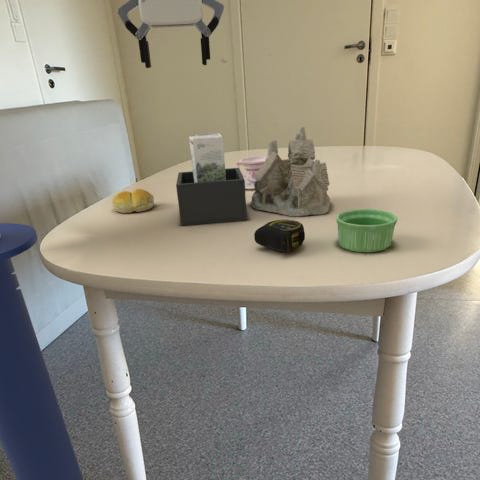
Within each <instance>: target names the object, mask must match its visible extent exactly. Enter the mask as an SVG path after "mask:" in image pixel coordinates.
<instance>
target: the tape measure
mask: <svg viewBox="0 0 480 480" xmlns="http://www.w3.org/2000/svg"><path fill="white" fill-rule="evenodd" d="M253 237H254V242H255V243H256V244H257V245H259V246H262V247H264V248H268V249H272V250H273V251H275V252H276V251H278V252H282V253H288V252H290V251H291V250H294V249H298V248H300V247H301V246H302V245H303V243H304V242H305V239H306V234H305V227H304V224H303V223H302V222H300V221H297V220H293V219H276V220H271V221H268V222H266V223H265V224H264V225H262V226H260V227H259V228H257V229H256V230H255V231H254V233H253Z"/></svg>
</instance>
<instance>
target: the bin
mask: <svg viewBox="0 0 480 480" xmlns="http://www.w3.org/2000/svg"><path fill="white" fill-rule="evenodd" d="M239 168H240V167H239ZM239 168H237V167H231V168H225V175H226V180H223V181H210V182H198V183H194V178H193V170H191V171H180V172H179V171H178V174H177V178H176V184H175V187H176V195H177V203H178V211H179V218H180V226H193V225H205V224H216V223H217V224H218V223H228V222H239V221H247V220H248V217H247V216H248V215H247V199H246V197H247V196H246V189H245V180H244V179H245V177H243V176H242V174H241V172H242V171H241V168H240V169H239Z"/></svg>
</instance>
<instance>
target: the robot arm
mask: <svg viewBox="0 0 480 480" xmlns="http://www.w3.org/2000/svg"><path fill="white" fill-rule="evenodd" d="M203 6H206V7H208V8H209V9H211V10H212V11H213V15H212V18H211V20H210V21H209V22H208V24H205V22H204V21H203ZM136 9H138V11H139V16H140V20H141V23H140V25H139V27H137V26H136V25H135V24H133V22H132V19H131V18H130V14H131V13H132V12H133V11H135V10H136ZM224 10H225V5H224V4H223V3H221V2H220V1H218V0H128V1H126V2H125V3H124V4H122V5H121V6H120V7H118V8H117V10H116V12H117V15H118V16H119V18H120V20H121V21H122V24H123V25H124V28H126V29H127V30H128V32H129V33H130V34H132V36H134V38H136V39H137V42H138V47H139V56H140V62H141V63H142V64H144V65H145V68H146V69H151V68H152V63H151V61H152V60H151V52H150V46H149V41H148V40H147V36H148V34H149V32H150V30H151V29H152V28H154V29H156V28H157V29H162V28H184V27H196V29H197V30H198V31H199V33H200V36H201V37H200V50H201V53H200V54H201V65H203V66H207V65H208V63H207V61H210V60H211V48H210V37H211V35H212V34H213V33H214V32H215V30H216V29H217V27H218V26H219V23H220V21H221V18H222V16H223V13H224ZM0 238H1V235H0Z"/></svg>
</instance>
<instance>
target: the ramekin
mask: <svg viewBox="0 0 480 480" xmlns="http://www.w3.org/2000/svg"><path fill="white" fill-rule="evenodd" d="M335 220H336V224H337V241H338V245H339V246H340V247H341V248H343V249H344V250H348V251H351V252H357V253H376V252H382V251H384V250H386V249H388V248H389V247H390V246H391V245H392V241H393V238H394V237H393V236H394V231H395V226H396V224H397V222H398V216H397V215H396V214H394V213H392V212H391V211H387V210H382V209H376V208H375V209H373V208H358V209H350V210H346V211H342V212H340V213H338V214H337V215H336V217H335Z"/></svg>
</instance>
